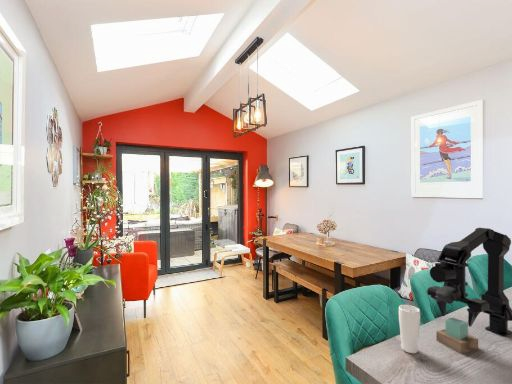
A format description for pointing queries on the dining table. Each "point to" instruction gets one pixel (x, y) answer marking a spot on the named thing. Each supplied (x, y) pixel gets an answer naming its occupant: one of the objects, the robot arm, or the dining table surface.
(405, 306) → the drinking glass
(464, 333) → the teal cube
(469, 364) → the dining table surface
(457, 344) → the walnut block
